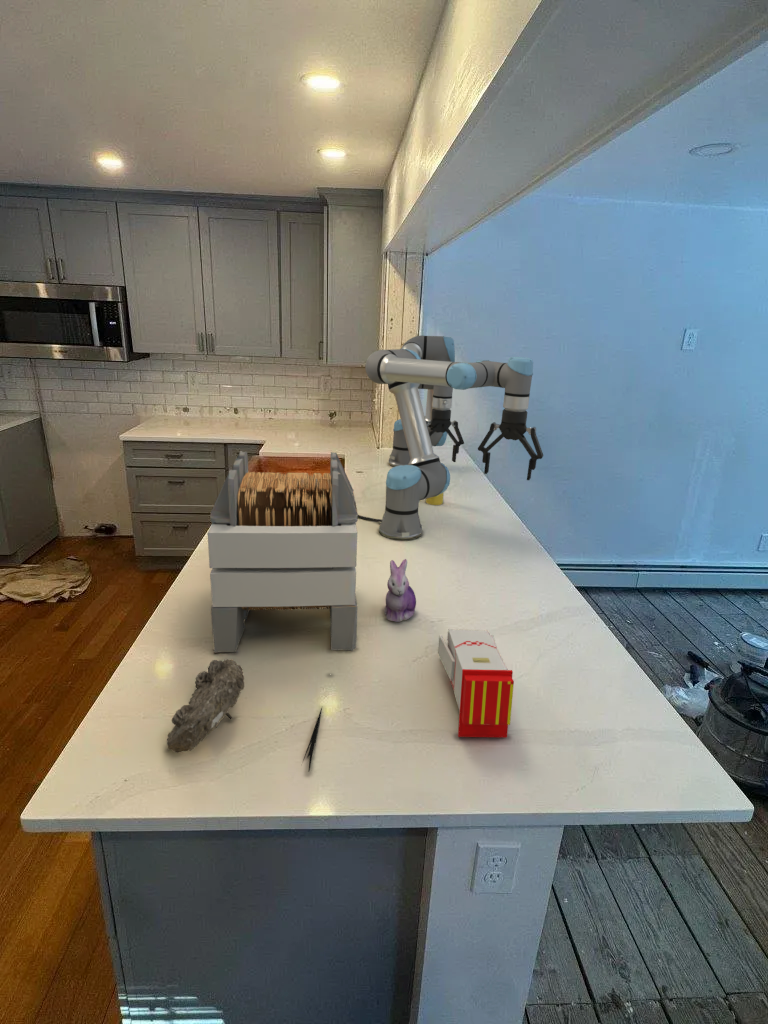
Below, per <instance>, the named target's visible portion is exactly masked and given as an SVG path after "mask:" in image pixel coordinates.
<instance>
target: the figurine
mask: <svg viewBox="0 0 768 1024" xmlns="http://www.w3.org/2000/svg"><path fill="white" fill-rule="evenodd" d="M407 567H408V559H406V558H404V559H403V560H402V561H401V563H400V565H399V566H398V565H397V563H396V562H395V561H394V560H393V559H391V560H390V561H389V570H390V576H389V578H388V579H387V589H388V591H387V592H386V594H385V595H386V596H385V607H384V615H385V616H386V620H387V621H391V622H395V623H400V622H402V621H406V620H409V619H410V618H411V617H413V616H414V615H415V610H416V606H417V597H416V593H415V591H414V590H413V587H411V586H410V582H409V579H408V577H407V574H406V571H407Z"/></svg>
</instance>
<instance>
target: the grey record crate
mask: <svg viewBox="0 0 768 1024" xmlns="http://www.w3.org/2000/svg"><path fill="white" fill-rule="evenodd" d="M329 465H330V466H329V467H330V469H329V470H330V472H324V473H321V472H313V474H309V473H308V472H286V473H285V472H284V473H283V472H274V471H273V472H269V471H266V472H264V471H263V472H260V471H259V472H258V471H257V472H255V471H249V459H248V451H242V450H240V451H239V453H238V455H237V457H236V458H235V460H234V463H233V465H232V467H231V468H230V469H229V471H228V473H227V475H226V477H225V480H224V482H223V484H222V487H221V489H220V491H219V493H218V496H217V498H216V500H215V502H214V504H213V507H212V508H211V511H210V514H209V519H210V523H211V525H210V527H209V529H208V531H207V532H206V534H207V548H208V562H209V563H208V565H209V569H211V570H210V573H209V575H210V576H209V577H210V590H211V591H210V592H211V593H210V594H211V606H210V617H211V633H212V637H213V638H212V639H213V649H212V652H213V653H214V654H215V653H216V654H220V653H236V652H237V649H238V647H239V645H240V642H241V639H242V637H243V635H244V632H245V625H246V624H245V621H247V619H248V615H249V611H268V610H270V611H273V610H274V611H275V610H277V611H278V610H279V611H280V610H284V611H286V610H290V611H291V610H294V611H295V610H325V609H326V610H329V619H330V621H329V622H330V623H329V625H330V626H329V627H330V628H329V629H330V650H331V651H351V652H353V651H354V650H355V649H357V638H358V635H357V631H358V602H357V601H358V600H357V593H356V590H357V589H356V588H357V569H356V568H357V555H358V553H357V551H358V529H357V522H358V519H359V518H358V515H359V513H358V507H357V502H356V497H355V493H354V488H353V486H352V484H351V481H350V479H349V478H348V475H347V473H346V471H345V469H344V466H343V464H342V461H341V460H340V458H339V456H338V453H337V452H333V451H330V463H329Z"/></svg>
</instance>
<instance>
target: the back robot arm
mask: <svg viewBox="0 0 768 1024" xmlns="http://www.w3.org/2000/svg"><path fill="white" fill-rule="evenodd" d="M400 349H408V350H412V351H414V352H416V353H417V354H418V355H419V357H420V358H421V360H435V361H448V362H456V353H455V352H456V351H455V350H456V349H455V340H454V338H453V337H452V336H445V335H421V334H420V335H416V336H413V337H411V338H409V339H408V340H407V341H405V342H404V343H403V345H402V347H401V348H400ZM418 390H427V392H426V405H425V407H426V408H425V415H424V416H425V420H426V424H427V428H428V432H429V436H430V440H431V444H432V447H443V446H444V445H445V443H446V441H447V437H448V436H449V438H450V439H451V440H452V442H453V443H454V444H453V445H452V455H451V462H453V463H457V454H459V453H460V447H461V446H462V445H464V444H465V440H464V438H463V436H462V434H461V431H460V428H459V422H458V421H457V420H453V421H451V417H452V410H451V409H452V404H453V390H454V388H452V387H447V386H437V385H428V384H420V385H419V387H418ZM451 426H452V427H453V430H454V432H455V434H456V436H455V435H454V434H453V432H452V431H451V430H450V427H451ZM392 432H393V438H392V450H391V453H390V454H389V458H388V463H387V464H388V466H391V467H392V468H393V467H396V466H400V465H403V466H404V465H408V464H409V462H410V460H411V458H410V454H409V450H408V446H407V442H406V438H405V434H404V430H403V426H402V422H401V418H399V419H396V421H394V424H393V431H392ZM456 437H457V438H456ZM457 439H458V440H457Z"/></svg>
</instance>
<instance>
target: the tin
mask: <svg viewBox="0 0 768 1024" xmlns="http://www.w3.org/2000/svg"><path fill="white" fill-rule="evenodd" d="M444 493H445V492H443V493H442V494H439V495H438V496H434V497H430V498H427V499H425V503H426V504H427V505H431V506H441V505H443V503H444Z"/></svg>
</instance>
